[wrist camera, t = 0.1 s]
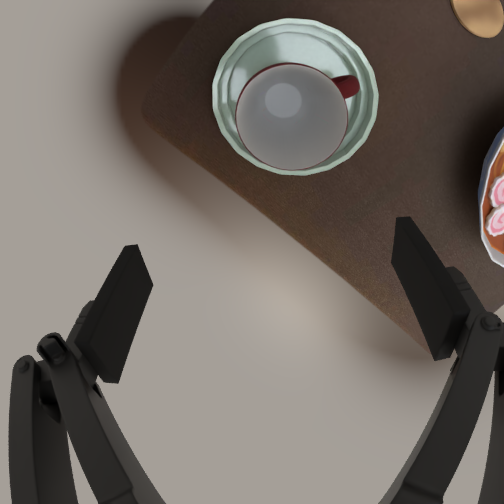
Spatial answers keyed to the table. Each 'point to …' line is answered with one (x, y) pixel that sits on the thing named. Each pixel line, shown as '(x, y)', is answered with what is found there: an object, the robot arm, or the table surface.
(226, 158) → the table surface
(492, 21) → the coaster
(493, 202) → the ramen bowl
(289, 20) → the serving bowl
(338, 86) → the mug
